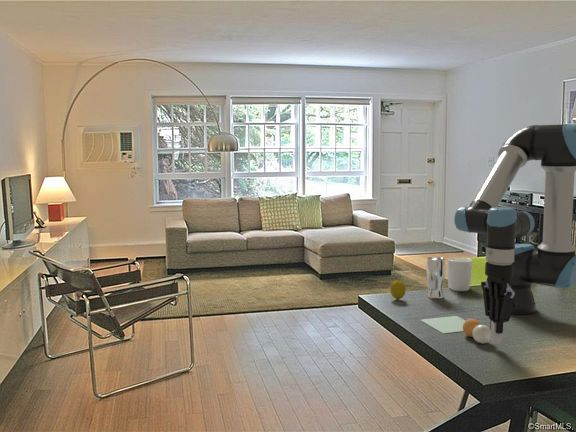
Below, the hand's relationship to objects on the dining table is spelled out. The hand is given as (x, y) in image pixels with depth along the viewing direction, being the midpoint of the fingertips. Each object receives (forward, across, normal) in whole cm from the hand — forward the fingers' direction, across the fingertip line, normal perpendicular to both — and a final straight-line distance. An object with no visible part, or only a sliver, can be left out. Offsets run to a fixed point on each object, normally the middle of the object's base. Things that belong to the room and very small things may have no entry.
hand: (495, 342), depth 160 cm
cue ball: (-1, -6, -1) cm, 6 cm away
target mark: (+2, -23, 0) cm, 23 cm away
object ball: (-1, -11, 0) cm, 11 cm away
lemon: (+2, -54, -2) cm, 54 cm away
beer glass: (+2, -54, +14) cm, 56 cm away
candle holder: (+2, -62, +30) cm, 69 cm away
